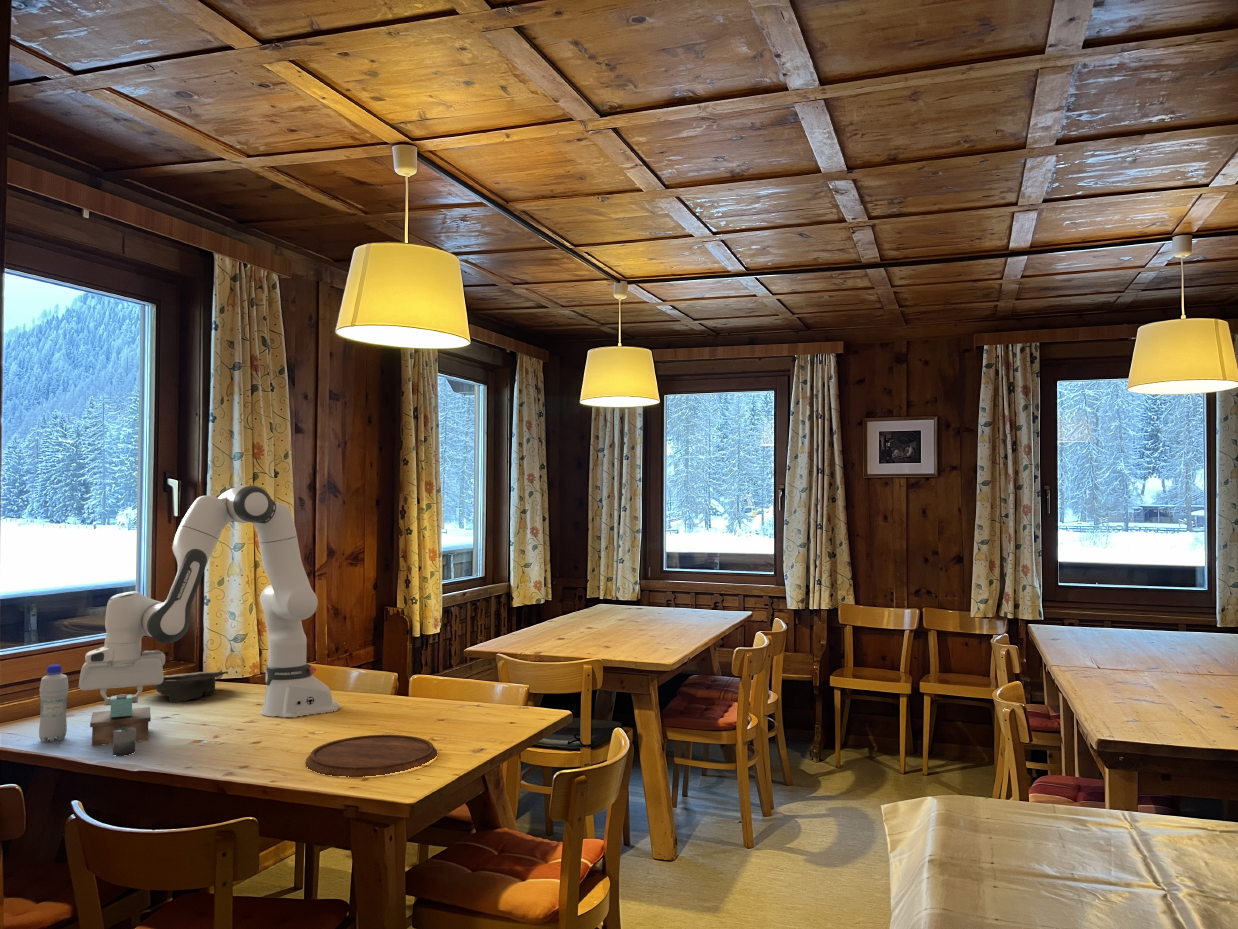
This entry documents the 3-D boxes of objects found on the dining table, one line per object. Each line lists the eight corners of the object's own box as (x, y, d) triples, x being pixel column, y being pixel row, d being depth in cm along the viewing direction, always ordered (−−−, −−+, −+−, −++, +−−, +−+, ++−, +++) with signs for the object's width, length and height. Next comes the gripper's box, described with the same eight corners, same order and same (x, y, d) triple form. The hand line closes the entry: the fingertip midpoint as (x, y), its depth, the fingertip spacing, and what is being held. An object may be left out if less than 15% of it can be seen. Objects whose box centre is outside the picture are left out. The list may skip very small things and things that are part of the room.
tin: (135, 750, 233) (135, 726, 234) (135, 754, 229) (135, 730, 229) (112, 752, 231) (113, 728, 231) (112, 757, 227) (113, 733, 227)
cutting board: (408, 783, 208) (408, 772, 208) (279, 775, 213) (279, 764, 214) (455, 746, 240) (456, 736, 240) (342, 740, 245) (342, 731, 245)
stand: (149, 728, 255) (150, 707, 255) (150, 740, 242) (150, 717, 243) (91, 734, 248) (92, 712, 248) (89, 746, 236) (90, 723, 236)
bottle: (36, 744, 238) (38, 667, 239) (39, 738, 244) (41, 663, 244) (66, 741, 241) (68, 665, 242) (68, 735, 247) (70, 661, 248)
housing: (131, 711, 250) (131, 691, 251) (131, 715, 242) (132, 695, 243) (110, 712, 248) (111, 693, 248) (110, 717, 240) (111, 697, 241)
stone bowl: (186, 706, 281) (184, 676, 281) (126, 706, 290) (125, 677, 290) (245, 690, 304) (243, 662, 305) (188, 690, 313) (187, 663, 313)
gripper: (165, 648, 254) (163, 697, 253) (80, 653, 244) (78, 705, 244) (165, 651, 248) (164, 702, 248) (79, 656, 239) (77, 710, 238)
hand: (121, 703), depth 246 cm, fingers closed on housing, 5 cm apart
